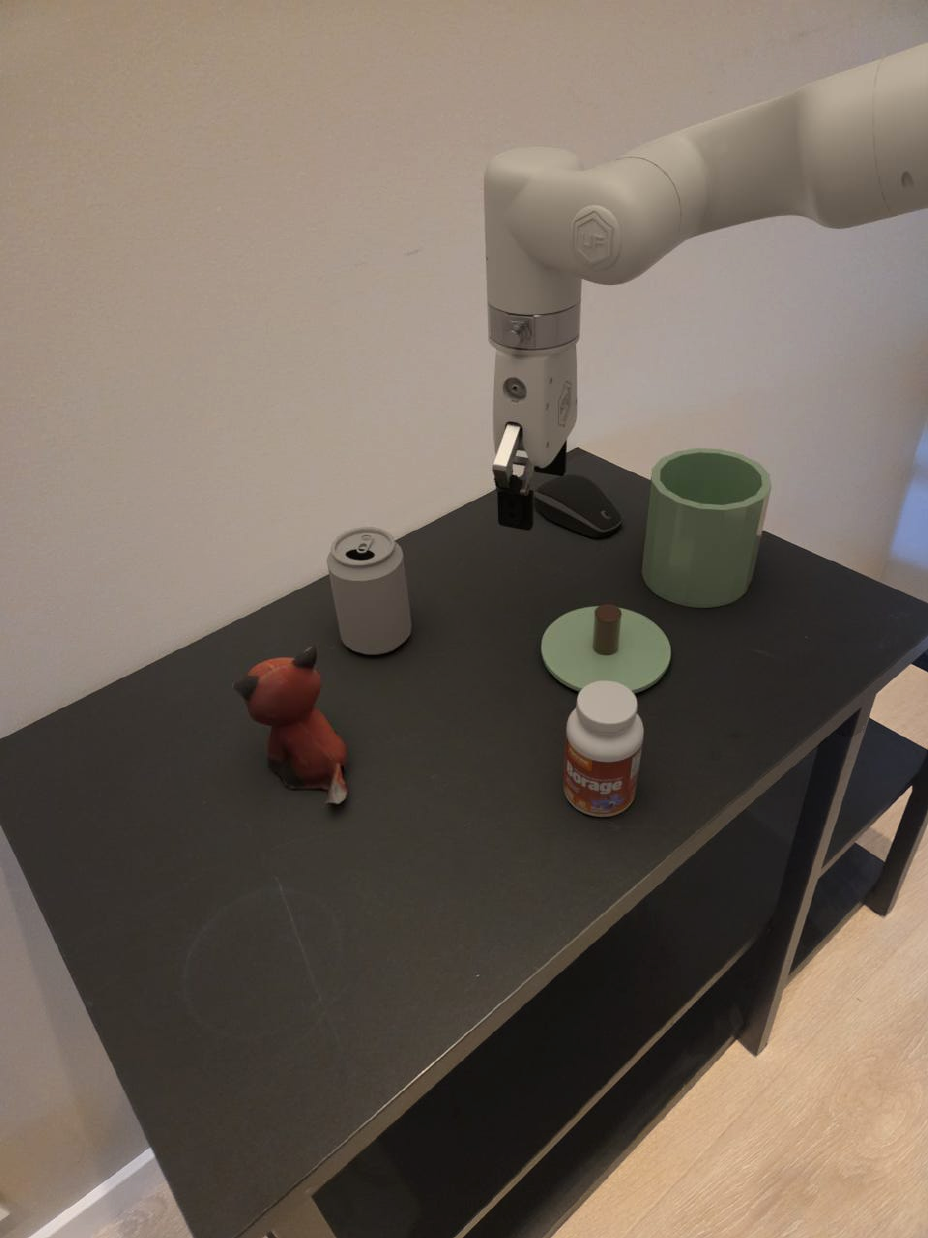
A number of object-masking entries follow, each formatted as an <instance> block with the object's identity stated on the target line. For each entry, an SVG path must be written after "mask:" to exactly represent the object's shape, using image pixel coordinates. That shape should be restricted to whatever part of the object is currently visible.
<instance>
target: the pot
mask: <svg viewBox="0 0 928 1238" xmlns="http://www.w3.org/2000/svg"><path fill="white" fill-rule="evenodd" d="M772 488H773V487H772V481H771V475H770V473H769V471H767V470H766V469H765V468H764V467H763V466H762V465H761V464H760V462H758V461H756V460H754V459H752V458H749V457H748V456H746V455H744V454H742V453H738V452H734V451H730V450H726V449H722V448H707V447H705V448H704V447H702V448H701V447H695V448H689V449H683V450H677V451H674V452H672V453H670V454H668V455H666V456H663V457H661V458H659V460H658V461H657V462H656V463H655V465H654V466H653V467H651V473H650V483H649V493H648V494H649V495H648V500H647V501H648V503H647V513H646V519H645V520H646V522H645V530H644V540H643V549H642V558H641V576H642V579H643V582H644V584H645V585H646V586H647V588H648V589H650V591H651V592H653V593H654V594H655V595H657V596H659V598H662V599H663V600H665V601H668V602H670V603H673V604H676V605H679V606H683V607H688V608H697V609H709V608H710V609H711V608H717V607H722V606H727V605H729V604H732V603H734V602H736V601H738V600H739V599H741V598H742V597H743V596H744V595H745V594H746V593H747V591H748V590H749V589H750V585H751V583H752V581H753V576H754V571H755V567H756V563H757V557H758V552H759V549H760V543H761V539H762V533H763V530H764V529H763V528H764V524H765V520H766V515H767V510H768V506H769V501H770V496H771V492H772Z"/></svg>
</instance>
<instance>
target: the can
mask: <svg viewBox="0 0 928 1238" xmlns="http://www.w3.org/2000/svg"><path fill="white" fill-rule="evenodd" d="M326 567H327V571H328V577H329V582H330V587H331V593H332V597H333V602H334V603H333V604H334V608H335V613H336V619H337V623H338V628H339V634H340V639H341V642H343V643H342V644H344V645H345V646H346V647H347V648H348V649H350V650H351V651H353V652H356V653H359V654H363V655H367V656H379V655H383V654H384V655H385V654H387V653H390V652H392V651H394V650H395V649H397V648H399V647H400V646H401V645H403V644H404V643H405V642H406V641H407V639H408V638H409V637H410V635H411V632H412V618H411V611H410V609H411V608H410V601H409V593H408V585H407V583H408V582H407V577H406V576H407V575H406V566H405V558H404V553H403V550H402V547H401V545H399V544H398V543H397V541H395V538H394V536H393V535H392V533H390V532H389V531H387V530H385V529H383V528H380V527H375V526H361V527H356V528H352V529H349V530H346V531H344V532H343V533H341V534H340V535H338V536H336V538H335V539H334V540H333V541H332V543H331V546H330V551H329V553H328V555H327V557H326Z"/></svg>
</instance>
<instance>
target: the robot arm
mask: <svg viewBox="0 0 928 1238" xmlns="http://www.w3.org/2000/svg"><path fill="white" fill-rule="evenodd" d="M483 207H484V208H483V209H484V210H483V212H484V239H485V240H484V241H485V269H486V270H485V271H486V303H487V307H486V308H487V333H488V335H487V336H488V343H489V344H490V346H491V347H493V348H494V349H495V357H494V372H493V390H492V437H493V438H492V439H493V449H494V455H495V457H494V460H493V463H492V468H491V470H492V474H493V482H494V485H495V486H494V487H495V491H496V495H497V496H496V497H497V498H496V499H497V523H498V525H499V526H502V527H506V528H512V529H515V530H516V529H517V530H522V531H526V532H529V531H531V530H532V529H533V527H534V489H533V490H532V489H531V482H532V479H533V474H534V472H536V473H539V474H546V475H552V476H556V477H559V476H563V475H566V474H565V473H566V472H567V454H568V453H567V450H568V449H567V448H568V438H569V436H570V435H571V433H572V432H573V429H574V428H575V426H576V423H577V419H578V355H577V344H578V342H579V340H580V335H581V334H580V333H581V311H582V285H583V281H587V282H590V283H593V284H595V285H596V284H597V285H602V286H618V285H623V284H626V283H629V282H632V281H633V280H635V279H637V278H639V277H640V276H641V275H643V274H644V273H645V272H647V271H648V270H650V269H651V268H652V267H653V266H654V265H655V264H657V263H659V262H660V261H661V260H662V259H663V258H664V257H665V256H667V255H668V254H669V253H671V252H672V251H673V250H674V249H676V248H678V246H680V245H681V244H683V243H684V242H685V241H688V240H690V239H692V238H695V237H699V236H701V235H704V234H705V235H706V234H708V233H713V232H715V231H719V230H723V229H726V228H730V227H734V226H738V225H743V224H746V223H750V222H754V221H759V220H765V219H770V218H775V217H776V218H777V217H786V216H787V217H788V216H797V217H804V218H806V219H809V220H810V221H811V220H812V221H813V222H815V224H818V225H820V226H821V227H824V228H827V229H833V230H843V229H844V230H845V229H851V228H854V227H858V226H859V227H860V226H863V225H867V224H870V223H874V222H875V223H876V222H879V221H883V220H886V219H891V218H894V217H898V216H901V215H905V214H909V213H914V212H917V211H922V210H925V209H928V41H927V42H925V43H922V44H918V45H916V46H912V47H910V48H907V49H904V50H902V51H899V52H897V53H893V54H890V55H887V56H884V57H881V58H879V59H876V60H874V61H870V62H868V63H864V64H862V65H859V66H856V67H853V68H849V69H846V70H844V71H840V72H838V73H835V74H832V75H829V76H827V77H824V78H821V79H818V80H815V81H812V82H809V83H807V84H804V85H802V86H800V87H798V88H796V89H794V90H792V91H790V92H788V93H785V94H783V95H779V96H776V97H774V98H770V99H767V100H764V101H761V102H758V103H755V104H752V105H749V106H746V107H743V108H740V109H738V110H734V111H731V112H729V113H726V114H723V115H720V116H717V117H714V118H711V119H709V120H706V121H702V122H700V123H697V124H694V125H691V126H688V127H686V128H682V129H680V130H677V131H673V132H671V133H668V134H666V135H665V134H664V135H662V136H660V137H658V138H654V139H653V140H650V141H648V142H646V143H644V144H641V145H639V146H637V147H635V148H633V149H631V150H629V151H627V152H626V153H624V154H623V155H620V156H619V157H617V158H615V159H613V160H612V161H609V162H606V163H603V164H601V165H600V164H599V165H597V166H595V167H592V168H588V169H585V167H584V163H583V161H582V160H581V158H580V157H579V156H578V155H577V154H576V153H575V152H573V151H570V150H567V149H564V148H561V147H555V146H543V145H542V146H540V145H539V146H523V147H517V148H512V149H509V150H505V151H503V152H500V153H499V154H496V155H495V156H493V157H492V158H491V159H490V160H489V162H488V164H487V165H486V167H485V170H484V175H483ZM518 451H522V452H525V454H526V456H520V455H517V453H518ZM514 465H516V466H521V467H523V473H522V476H521V477H519V476H518V475H517V474H514Z"/></svg>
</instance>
